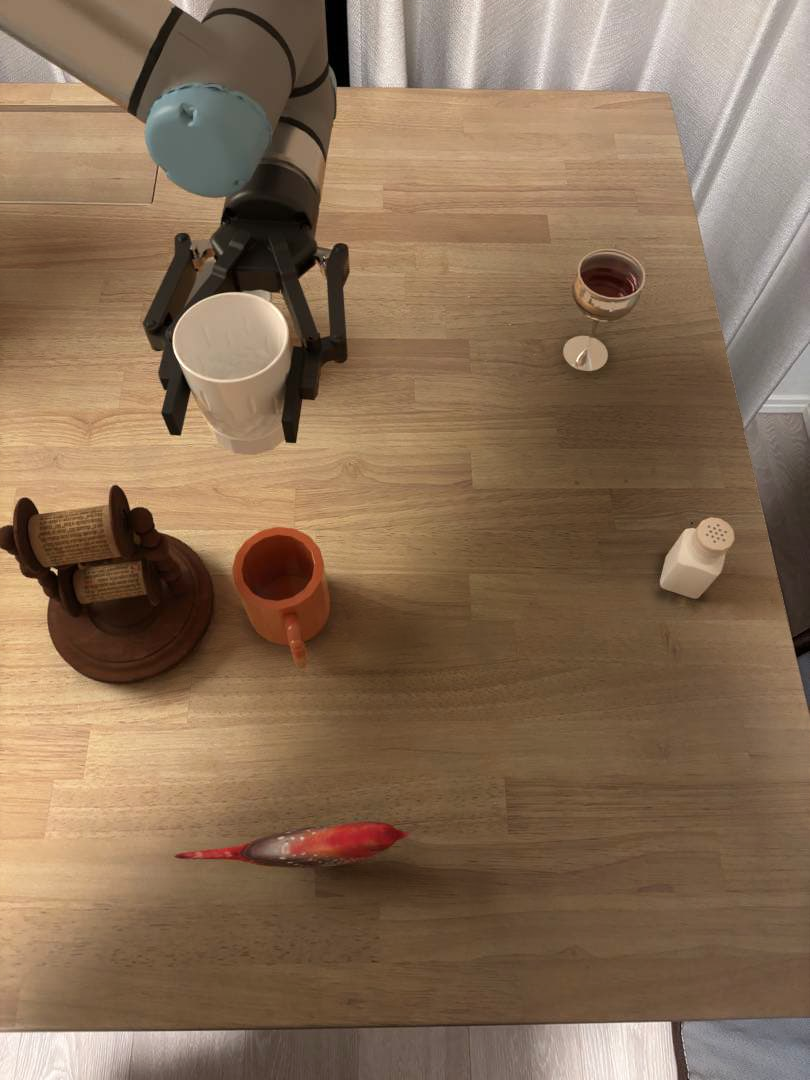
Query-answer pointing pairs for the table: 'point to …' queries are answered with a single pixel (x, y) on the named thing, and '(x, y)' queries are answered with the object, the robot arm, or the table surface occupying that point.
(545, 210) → the table surface
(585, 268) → the wineglass
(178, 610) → the scroll
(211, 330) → the white cup
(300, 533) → the mug
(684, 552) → the salt shaker
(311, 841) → the decorative bird figurine
